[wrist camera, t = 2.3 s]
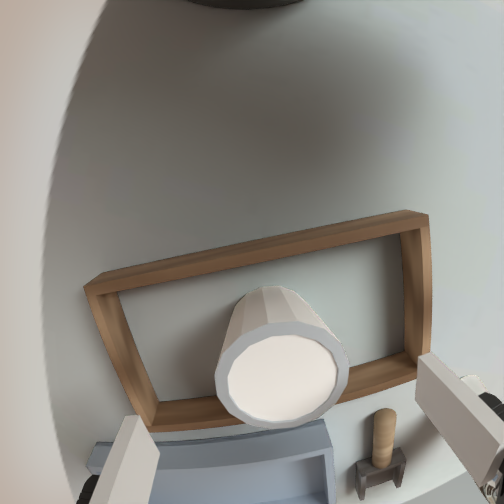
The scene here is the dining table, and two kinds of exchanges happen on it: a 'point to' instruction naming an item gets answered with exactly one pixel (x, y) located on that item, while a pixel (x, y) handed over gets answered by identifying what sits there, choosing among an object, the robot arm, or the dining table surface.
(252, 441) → the bin
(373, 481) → the hand scoop
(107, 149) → the dining table surface
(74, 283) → the dining table surface
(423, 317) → the walnut frame
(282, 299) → the white faceted cup
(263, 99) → the dining table surface
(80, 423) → the dining table surface
